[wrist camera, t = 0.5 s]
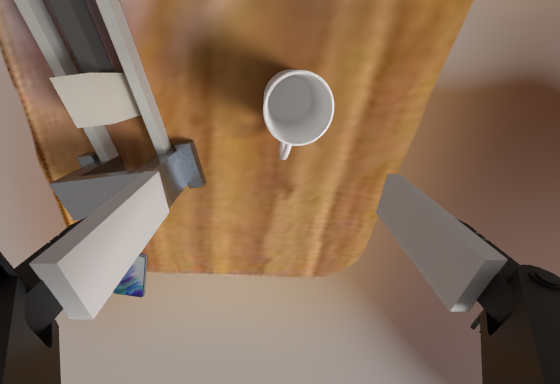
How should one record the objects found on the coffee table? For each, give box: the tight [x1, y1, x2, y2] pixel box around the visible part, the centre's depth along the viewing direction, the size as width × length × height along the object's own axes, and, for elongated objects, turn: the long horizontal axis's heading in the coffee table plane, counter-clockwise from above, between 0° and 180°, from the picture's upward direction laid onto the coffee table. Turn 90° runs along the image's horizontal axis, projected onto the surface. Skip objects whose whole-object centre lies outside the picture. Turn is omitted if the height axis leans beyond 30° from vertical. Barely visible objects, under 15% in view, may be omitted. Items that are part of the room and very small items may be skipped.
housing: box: [49, 140, 206, 220], centre depth 35 cm, size 8×19×10 cm, turn 96°
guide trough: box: [14, 0, 172, 161], centre depth 32 cm, size 22×11×2 cm, turn 6°
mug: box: [263, 69, 334, 160], centre depth 30 cm, size 12×8×12 cm
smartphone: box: [113, 253, 147, 297], centre depth 52 cm, size 7×1×15 cm
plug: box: [48, 0, 141, 128], centre depth 28 cm, size 16×5×7 cm, turn 6°
